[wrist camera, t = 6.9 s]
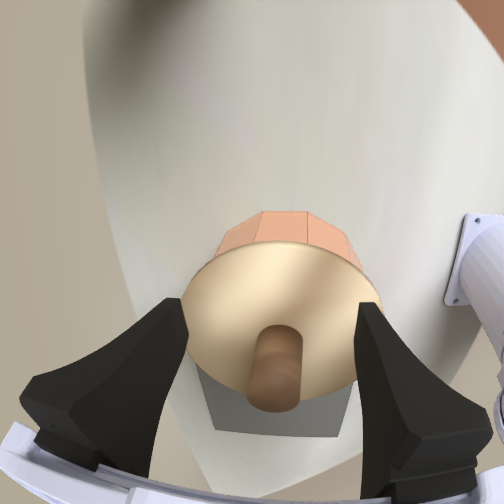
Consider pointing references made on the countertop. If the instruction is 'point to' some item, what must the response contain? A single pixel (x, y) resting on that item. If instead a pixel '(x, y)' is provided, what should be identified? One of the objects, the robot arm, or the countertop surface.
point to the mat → (278, 424)
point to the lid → (276, 321)
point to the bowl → (290, 233)
